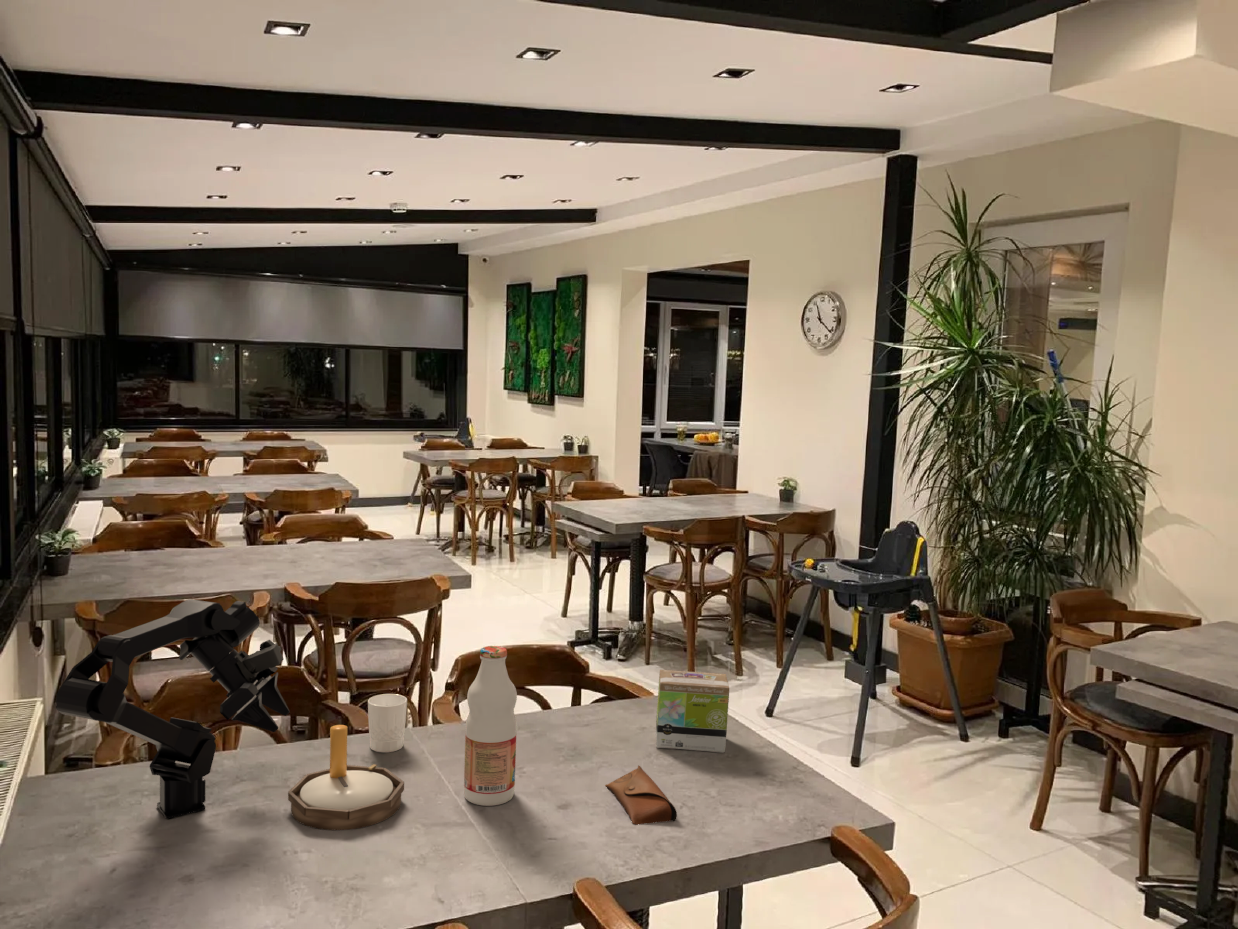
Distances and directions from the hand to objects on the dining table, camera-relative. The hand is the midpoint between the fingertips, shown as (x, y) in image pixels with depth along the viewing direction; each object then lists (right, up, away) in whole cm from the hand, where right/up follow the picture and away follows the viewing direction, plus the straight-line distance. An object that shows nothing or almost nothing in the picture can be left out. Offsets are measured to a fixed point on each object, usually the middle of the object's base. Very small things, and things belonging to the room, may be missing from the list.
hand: (282, 721), depth 175 cm
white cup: (+13, -12, +25) cm, 31 cm away
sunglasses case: (+65, -17, +4) cm, 67 cm away
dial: (+13, -12, -3) cm, 18 cm away
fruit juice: (+37, -15, +4) cm, 40 cm away
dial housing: (+13, -14, -3) cm, 19 cm away
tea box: (+77, -14, +34) cm, 85 cm away
